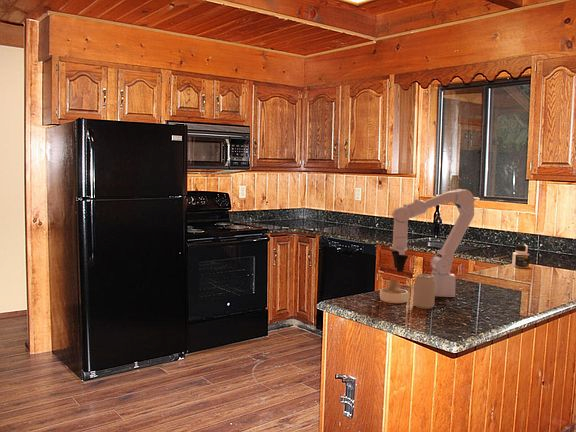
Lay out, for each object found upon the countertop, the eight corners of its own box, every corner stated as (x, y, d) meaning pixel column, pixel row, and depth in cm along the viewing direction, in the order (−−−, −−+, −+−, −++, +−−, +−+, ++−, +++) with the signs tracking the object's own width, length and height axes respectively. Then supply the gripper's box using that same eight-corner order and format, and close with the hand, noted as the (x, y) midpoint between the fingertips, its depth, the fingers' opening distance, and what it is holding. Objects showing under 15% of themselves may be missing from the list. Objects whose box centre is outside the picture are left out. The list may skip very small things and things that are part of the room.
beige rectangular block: (397, 297, 216) (398, 280, 215) (398, 299, 213) (399, 281, 213) (387, 297, 216) (388, 279, 215) (388, 298, 213) (389, 281, 213)
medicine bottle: (515, 267, 293) (516, 245, 292) (511, 265, 300) (513, 243, 299) (529, 268, 292) (530, 245, 291) (525, 265, 299) (527, 243, 298)
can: (430, 304, 209) (432, 273, 208) (436, 309, 201) (438, 277, 200) (411, 304, 209) (412, 272, 208) (416, 309, 201) (417, 276, 200)
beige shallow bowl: (405, 297, 219) (405, 288, 219) (409, 303, 209) (409, 294, 209) (378, 296, 220) (379, 287, 220) (381, 302, 210) (381, 293, 209)
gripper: (388, 234, 231) (386, 266, 232) (392, 238, 216) (390, 272, 218) (405, 234, 230) (403, 266, 231) (410, 239, 216) (409, 273, 217)
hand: (398, 269), depth 224 cm, fingers open, 7 cm apart
